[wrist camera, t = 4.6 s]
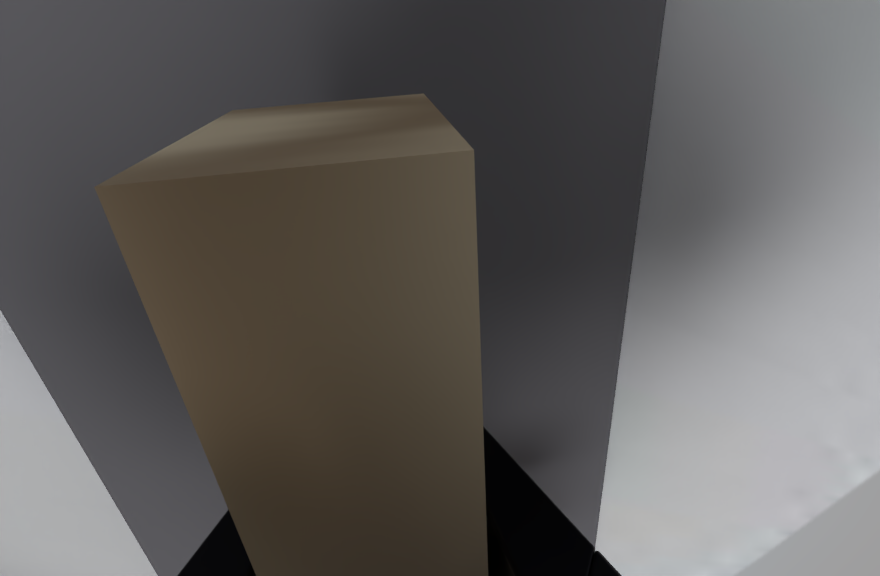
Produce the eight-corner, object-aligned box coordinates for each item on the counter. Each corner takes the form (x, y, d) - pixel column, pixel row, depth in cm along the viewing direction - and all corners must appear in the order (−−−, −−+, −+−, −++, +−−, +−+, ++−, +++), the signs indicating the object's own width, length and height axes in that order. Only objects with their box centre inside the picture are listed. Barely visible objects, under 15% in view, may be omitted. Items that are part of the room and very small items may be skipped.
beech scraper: (621, 76, 7) (844, 114, 4) (570, 579, 14) (638, 766, 10) (6, 130, 7) (-388, 234, 3) (247, 635, 13) (202, 858, 9)
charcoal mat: (654, -99, 10) (680, -111, 9) (575, 609, 23) (583, 632, 22) (-159, -46, 9) (-216, -54, 8) (235, 670, 22) (229, 696, 21)
